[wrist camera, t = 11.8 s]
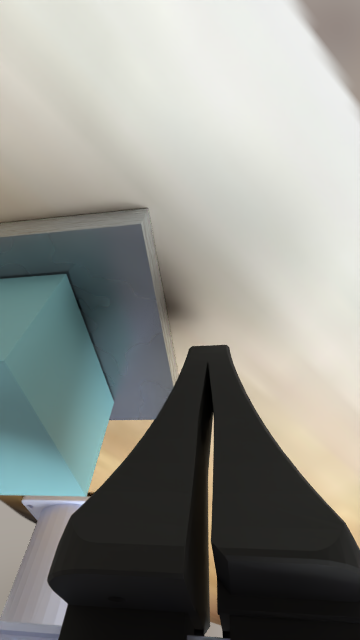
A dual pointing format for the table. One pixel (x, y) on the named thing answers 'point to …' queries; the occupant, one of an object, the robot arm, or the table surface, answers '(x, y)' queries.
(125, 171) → the table surface
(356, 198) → the table surface
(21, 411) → the block
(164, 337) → the press bed
